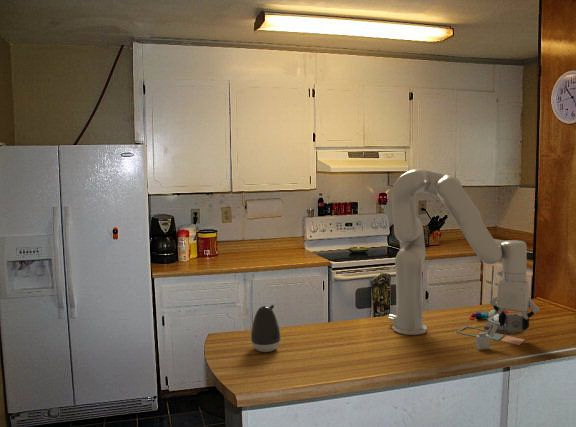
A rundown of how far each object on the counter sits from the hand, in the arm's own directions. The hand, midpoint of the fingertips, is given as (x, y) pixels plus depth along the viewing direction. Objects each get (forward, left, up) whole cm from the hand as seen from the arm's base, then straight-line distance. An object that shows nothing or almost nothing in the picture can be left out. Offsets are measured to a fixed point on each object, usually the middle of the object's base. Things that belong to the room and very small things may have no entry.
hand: (513, 326), depth 168 cm
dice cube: (0, 0, -1) cm, 1 cm away
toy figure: (-15, +18, -6) cm, 24 cm away
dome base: (-7, +11, -5) cm, 14 cm away
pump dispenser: (-61, -60, -5) cm, 86 cm away
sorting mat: (-8, 0, -5) cm, 9 cm away
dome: (-7, +11, -4) cm, 14 cm away
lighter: (-5, -12, -5) cm, 14 cm away
